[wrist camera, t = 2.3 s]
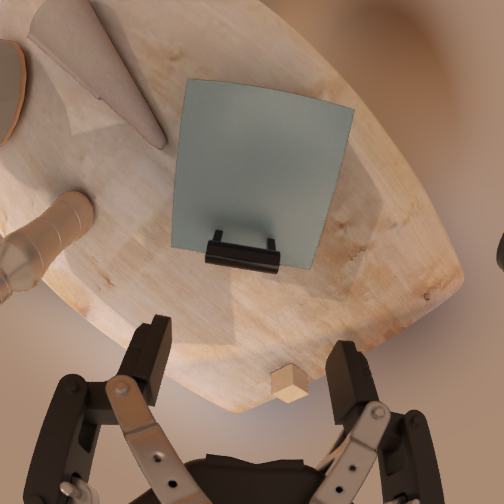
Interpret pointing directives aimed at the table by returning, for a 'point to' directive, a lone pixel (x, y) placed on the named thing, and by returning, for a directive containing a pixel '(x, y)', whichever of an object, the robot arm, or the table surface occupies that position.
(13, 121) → the desk lamp
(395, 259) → the table surface
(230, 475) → the robot arm
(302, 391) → the tan cube
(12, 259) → the plastic bottle
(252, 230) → the lid
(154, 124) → the beige long cone
